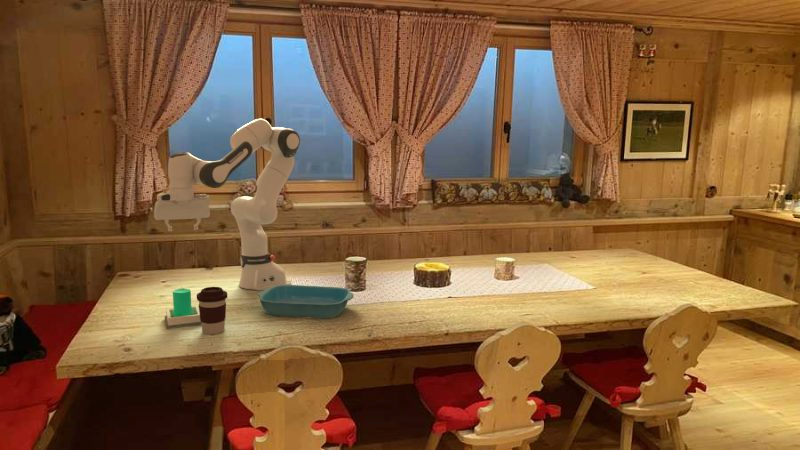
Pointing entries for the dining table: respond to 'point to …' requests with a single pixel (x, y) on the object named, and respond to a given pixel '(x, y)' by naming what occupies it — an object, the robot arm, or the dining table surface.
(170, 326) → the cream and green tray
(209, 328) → the coffee cup
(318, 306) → the casserole dish
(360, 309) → the dining table surface
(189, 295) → the candle
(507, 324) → the dining table surface
